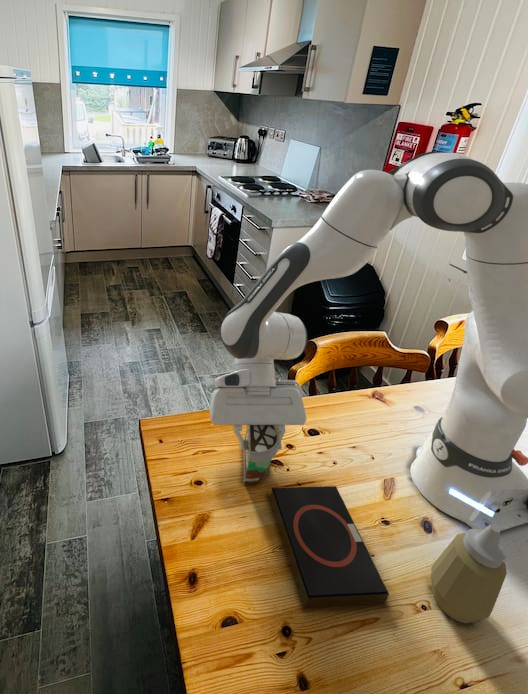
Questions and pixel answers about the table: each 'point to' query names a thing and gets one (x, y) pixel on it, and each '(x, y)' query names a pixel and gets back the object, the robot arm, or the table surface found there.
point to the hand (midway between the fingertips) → (260, 449)
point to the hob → (326, 549)
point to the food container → (259, 451)
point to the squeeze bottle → (470, 574)
